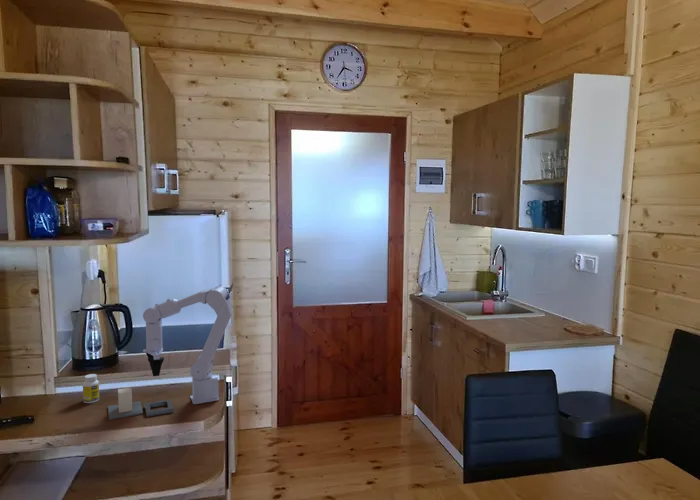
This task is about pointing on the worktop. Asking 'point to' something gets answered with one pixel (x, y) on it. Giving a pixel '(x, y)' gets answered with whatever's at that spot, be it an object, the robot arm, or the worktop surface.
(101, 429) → the worktop surface
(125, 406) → the square peg block
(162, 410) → the square socket
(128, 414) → the rubber mat
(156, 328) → the robot arm
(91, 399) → the supplement bottle
